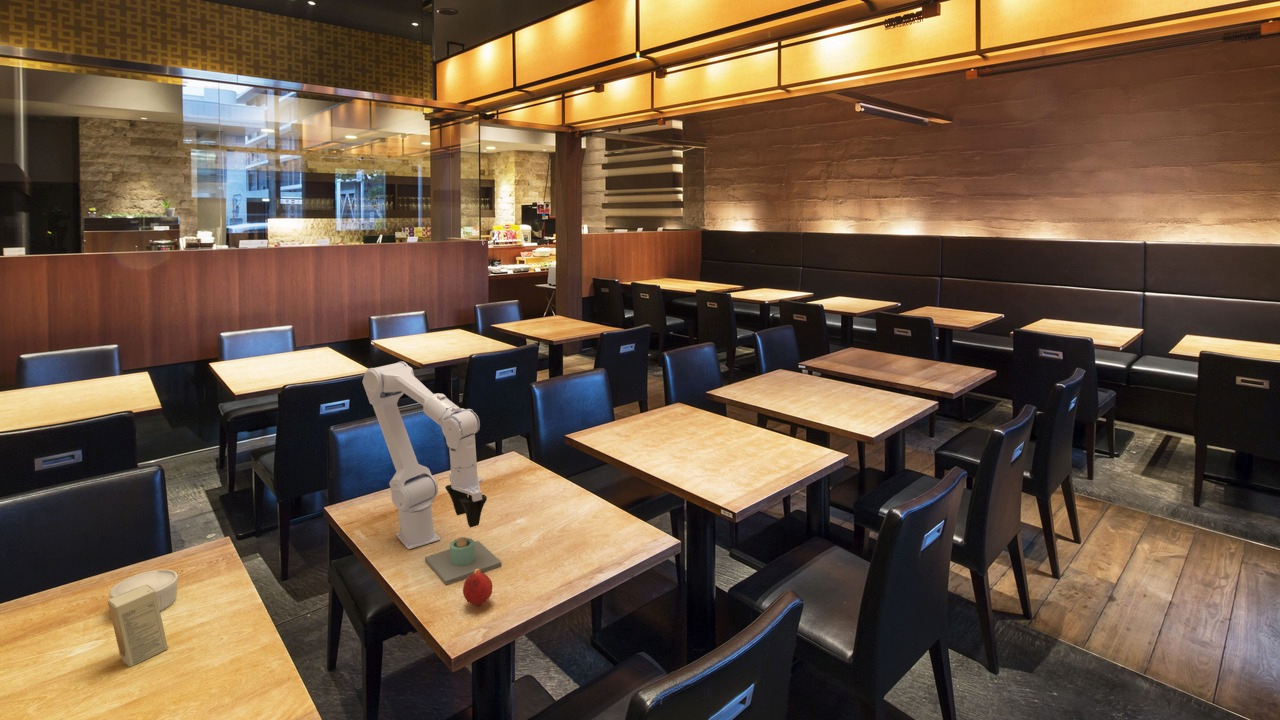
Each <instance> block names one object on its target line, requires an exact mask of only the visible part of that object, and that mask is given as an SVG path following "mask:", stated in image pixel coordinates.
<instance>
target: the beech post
mask: <svg viewBox="0 0 1280 720" xmlns="http://www.w3.org/2000/svg"><path fill="white" fill-rule="evenodd" d="M466 538H467V537H464V536H461V537H458V538H457V540H456V539H455V540H456V542H457V547H458V548H460V547H465V546H467V540H466Z"/></svg>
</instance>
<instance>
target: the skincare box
mask: <svg viewBox="0 0 1280 720" xmlns="http://www.w3.org/2000/svg"><path fill="white" fill-rule="evenodd" d="M107 605H108V608H109V613H110V617H111V621H112V626H113V630H114V635H115V639H116V643H117V648H118V653H119V656H120V659H121V661H122V662H123V663H124V664H125V665H126V666H127V667H128V668H131V667H133V666H135V665H137V664H140V663H141V662H143V661H146V660H148V659H150V658H152V657H154V656H156V655H158V654H160V653H162V652H164V651H166V650H168V649H169V646H168V643H167V638H166V633H165V628H164V624H163V619H162V615H161V611H160V610H159V605H158V600H157V596H156V591H155V590H154V589H153V588H151V587H150V586H148V585H147V584H145V585H143V586H140V587H138V588H135V589H133V590H130V591H128V592H126V593H123V594H121V595H118V596H116V597H113V598H109V599H107Z"/></svg>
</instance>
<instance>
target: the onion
mask: <svg viewBox="0 0 1280 720" xmlns="http://www.w3.org/2000/svg"><path fill="white" fill-rule="evenodd" d="M480 571H481V570H480V569H475V571H474V573H473V574H472V575H470V576H469V577H468V578H466V579H465V581H464V584H463V587H462V594H463V597H464V599H465V601H467V602H468V603H469V604H471V605H473V606H477V607H480V606H482V605H483V604H484V603H486V602H487V601H488V600H489V599H490V598H491V595H492V594H493V582H492V580H491V578H489V576H488V575H487V574H485V573H484V572H483V573H480Z"/></svg>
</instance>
